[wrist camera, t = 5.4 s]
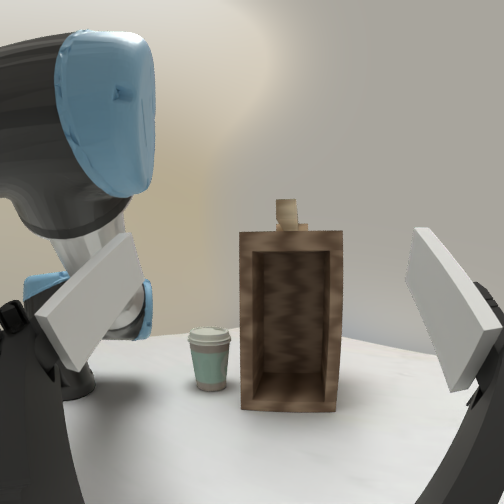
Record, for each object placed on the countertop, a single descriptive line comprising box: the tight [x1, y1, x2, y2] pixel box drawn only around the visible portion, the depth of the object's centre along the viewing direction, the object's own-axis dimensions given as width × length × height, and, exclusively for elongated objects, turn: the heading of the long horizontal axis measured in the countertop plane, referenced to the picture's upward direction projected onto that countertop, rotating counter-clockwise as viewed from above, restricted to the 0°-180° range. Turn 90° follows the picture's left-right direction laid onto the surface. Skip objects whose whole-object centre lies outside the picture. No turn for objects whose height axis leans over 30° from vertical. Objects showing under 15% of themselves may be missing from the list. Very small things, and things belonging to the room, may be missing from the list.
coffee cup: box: [188, 327, 231, 391], centre depth 56 cm, size 8×9×12 cm
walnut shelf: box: [239, 231, 343, 412], centre depth 53 cm, size 16×16×32 cm
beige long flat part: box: [276, 199, 308, 231], centre depth 46 cm, size 6×28×2 cm, turn 171°
